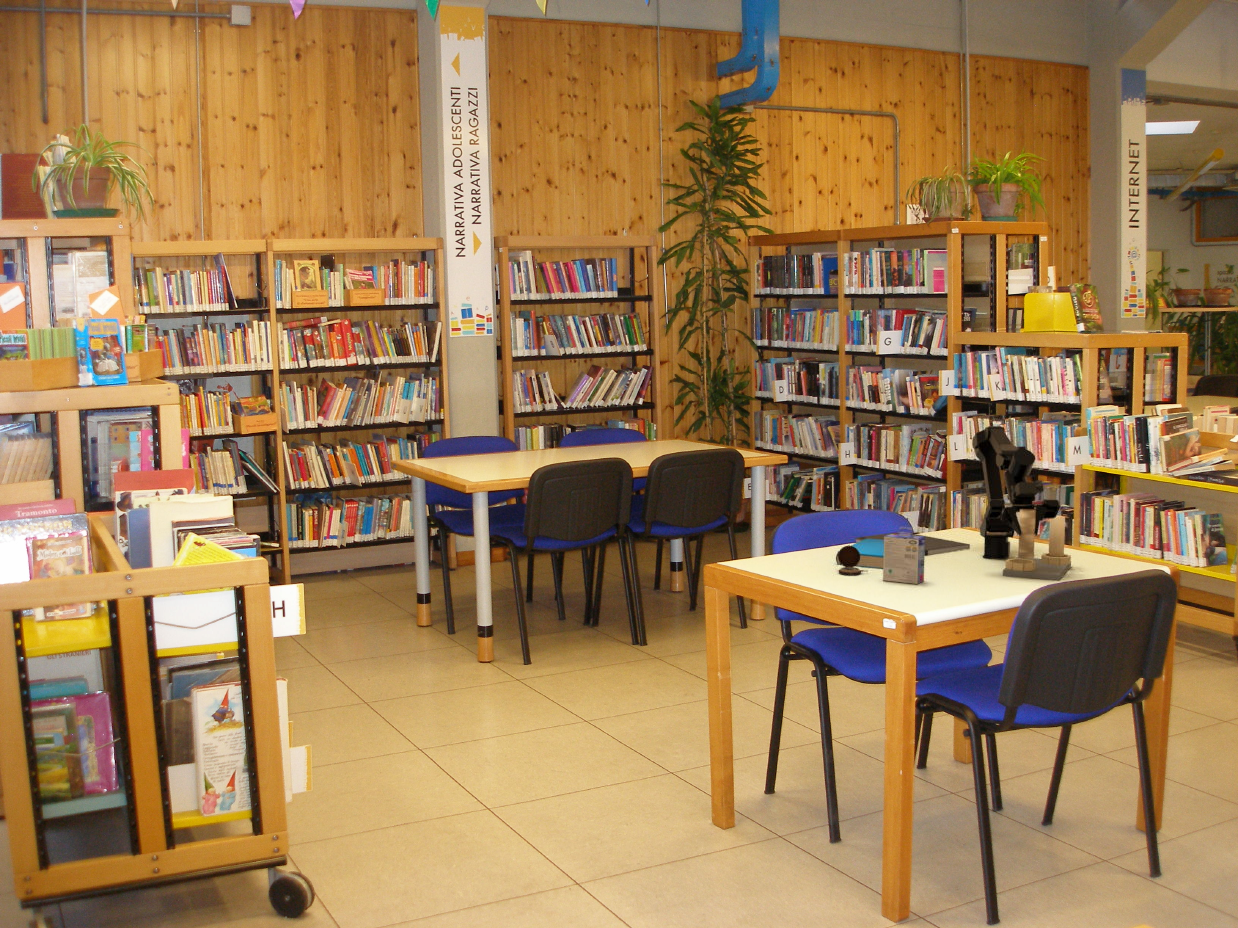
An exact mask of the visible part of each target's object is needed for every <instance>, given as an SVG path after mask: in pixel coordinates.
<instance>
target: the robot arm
mask: <svg viewBox="0 0 1238 928" xmlns="http://www.w3.org/2000/svg"><path fill="white" fill-rule="evenodd" d="M971 444H972V445H971V446H972V448H973V450H974V455H975V457H976V459H978V460H979V461H980V462H981V464H982V472H983V476H984V485H985V492H986V500H987V505H986V508H985V513H984V514H983V519H982V522H981V523H980V527H979V535H980V536H981V537H983V539H984V544H983V545H984V547H983V549H984V550H983V555H982V558H984V559H985V558H986V559H996V560H1007V558H1010V555H1011V541H1009V538H1012V539H1013V538H1014V535H1015V533H1016V534H1017V535H1018V536H1019V535H1021V528H1020V525H1019V518H1018V515H1017V513H1020V509H1034V510H1036V514H1035V536H1038V534H1039V530H1040V522H1041V521H1043V520H1044V519H1049V520H1050V519H1053V518H1055V517H1056V516H1058V513H1059V510H1060V509H1061V504H1060V501H1059V500H1058V499H1056V498H1051V499H1050V498H1049V499H1048V498H1043V500H1042V502H1041V504H1037V503H1033V502H1035V500H1036V497H1035V496H1036V495H1038V494H1042V493H1043V492H1044V490H1045V489H1044V487H1045V486H1044V483H1043V480H1035V481H1028V479H1027V477H1028V476H1029V475H1030V474H1031V471H1032V469H1033V466H1034V464H1035V461H1036V455H1035V454H1034V453H1033V452H1032V451H1031V450H1029V449H1026V448H1027V447H1026V446H1016V445H1014V444H1013V443H1012V441H1011V439H1010V438H1009V437H1008V435H1007V433H1006V430H1005V427H1004V426H1002V425H988V426H986V427H985V428H984V429H982V430H980V431H977V432H976V433H975V434H974V435H973V437H972V440H971ZM1001 471H1005V473H1004V474H1003V477H1004V485H1005V486H1006V490H1007V500H1009V502H1006V501H1005V498H1004V492H1003V485H1002V478H1001V477H1002V476H1001Z"/></svg>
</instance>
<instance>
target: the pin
mask: <svg viewBox="0 0 1238 928" xmlns="http://www.w3.org/2000/svg"><path fill="white" fill-rule="evenodd" d="M1035 514H1036V510H1034V509H1020V512H1019V519H1018V522H1019V525H1020V528H1021V535H1018V549H1017V550H1018V552H1017V553H1018V556H1017V557H1018V558H1021V559H1033V558H1035V541H1036V540H1035V539H1036V538H1035V537H1036V535H1035Z"/></svg>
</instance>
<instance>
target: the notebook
mask: <svg viewBox="0 0 1238 928" xmlns="http://www.w3.org/2000/svg"><path fill="white" fill-rule="evenodd" d="M898 532H899V531H897V532H890V533H883V534H875V535H874V534H873V535H866V536H858V537H855V541H856V542H855V544H856V543H858V542H860V541H862V540H864V539H867V538H868V539H879V540H884V537H885V536H887V535H889V534H894V535H898ZM912 536H924V537H925V553H924V557H926V556H932V555H938V554H946V553H952V552H951V551H953V552H957V551H956V550H960V551H964V550H963V549H966V550H970V548H971V545H970V543H964V542H960V541H954V540H949V539H944V538H938V537H933V536H928V535H922V534H916V533H912ZM945 552H946V553H945Z"/></svg>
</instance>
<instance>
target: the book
mask: <svg viewBox="0 0 1238 928" xmlns="http://www.w3.org/2000/svg"><path fill="white" fill-rule="evenodd" d="M850 546H853V547H855V548H856V549H857V550H858V551H859V553H860V561H859V563H858V564H857V565H856V567H857V566H860V567H859V568H868V567H869V569H879V570H880V569H881V570H883V558H884V540H879V539H868V538H867V539H864V540H862V541H860V542H858V543H856V542H855V543H853V544H852V545H850ZM839 551H840V550H838V551H837V553H836V555H835V562H836V564H837V565H839V566H840V565H841V564H840V562H839V560H838V553H839ZM841 566H842V565H841Z"/></svg>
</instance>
